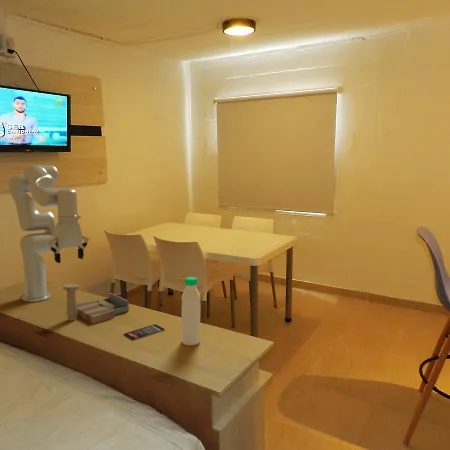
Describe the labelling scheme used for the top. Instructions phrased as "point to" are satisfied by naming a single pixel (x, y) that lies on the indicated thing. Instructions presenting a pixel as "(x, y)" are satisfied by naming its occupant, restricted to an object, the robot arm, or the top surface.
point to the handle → (71, 300)
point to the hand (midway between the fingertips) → (69, 260)
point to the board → (93, 311)
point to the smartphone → (143, 332)
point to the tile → (106, 304)
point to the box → (117, 304)
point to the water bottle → (190, 313)
